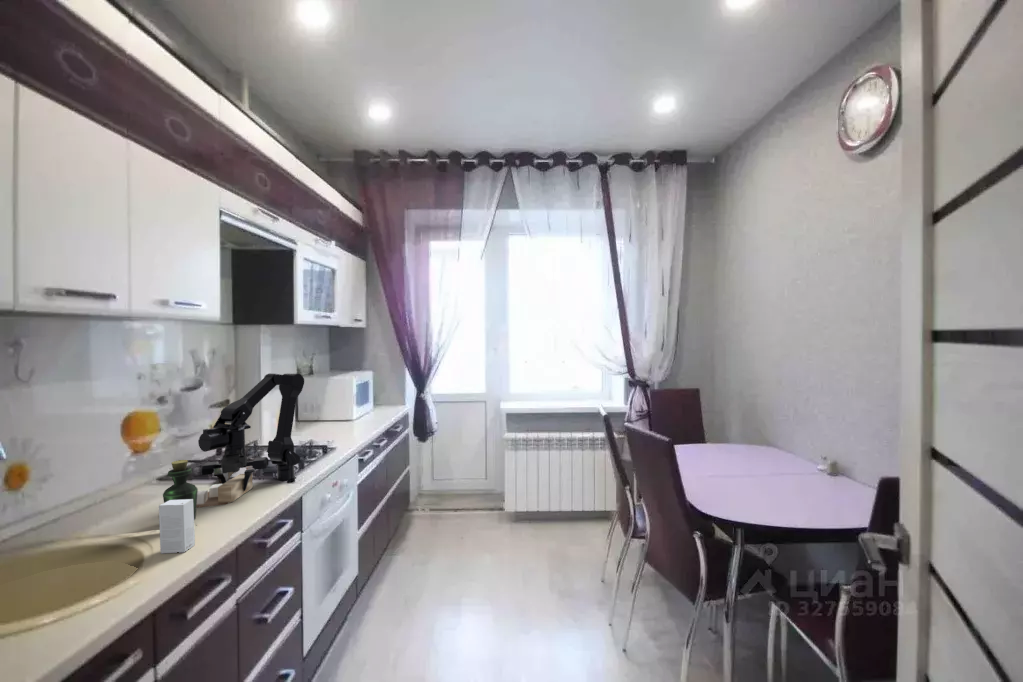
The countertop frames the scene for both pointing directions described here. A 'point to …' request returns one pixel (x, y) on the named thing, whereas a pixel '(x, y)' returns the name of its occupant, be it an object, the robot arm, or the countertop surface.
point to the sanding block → (233, 489)
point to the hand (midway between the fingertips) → (236, 491)
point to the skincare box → (176, 526)
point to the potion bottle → (181, 484)
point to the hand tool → (228, 476)
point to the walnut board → (210, 502)
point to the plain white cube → (214, 490)
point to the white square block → (202, 497)
